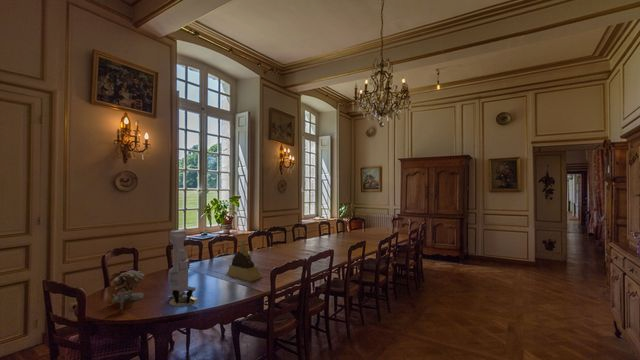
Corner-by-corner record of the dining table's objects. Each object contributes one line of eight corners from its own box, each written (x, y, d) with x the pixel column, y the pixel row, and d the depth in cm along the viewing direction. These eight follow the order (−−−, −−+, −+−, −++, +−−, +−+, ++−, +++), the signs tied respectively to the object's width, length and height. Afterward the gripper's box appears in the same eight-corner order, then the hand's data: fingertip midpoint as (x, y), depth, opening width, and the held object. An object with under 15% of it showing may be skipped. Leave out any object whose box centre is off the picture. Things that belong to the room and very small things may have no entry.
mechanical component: (110, 311, 189) (111, 294, 189) (130, 306, 196) (130, 290, 196) (112, 312, 187) (112, 295, 187) (132, 308, 194) (132, 291, 194)
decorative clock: (262, 277, 259) (262, 239, 259) (250, 281, 248) (250, 242, 249) (239, 272, 275) (239, 236, 276) (226, 275, 265) (226, 238, 265)
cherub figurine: (121, 293, 220) (122, 267, 220) (149, 292, 221) (149, 266, 222) (107, 303, 202) (107, 274, 202) (137, 302, 204) (137, 273, 204)
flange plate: (176, 297, 213) (176, 295, 213) (200, 297, 213) (200, 295, 213) (164, 306, 197) (164, 304, 197) (191, 306, 197) (191, 304, 197)
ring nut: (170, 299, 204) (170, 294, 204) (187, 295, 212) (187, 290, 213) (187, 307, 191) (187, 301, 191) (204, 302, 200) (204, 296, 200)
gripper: (168, 282, 192) (167, 305, 192) (192, 282, 192) (192, 305, 192) (173, 278, 199) (172, 301, 199) (196, 278, 199) (196, 301, 199)
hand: (182, 302), depth 196 cm, fingers open, 6 cm apart
